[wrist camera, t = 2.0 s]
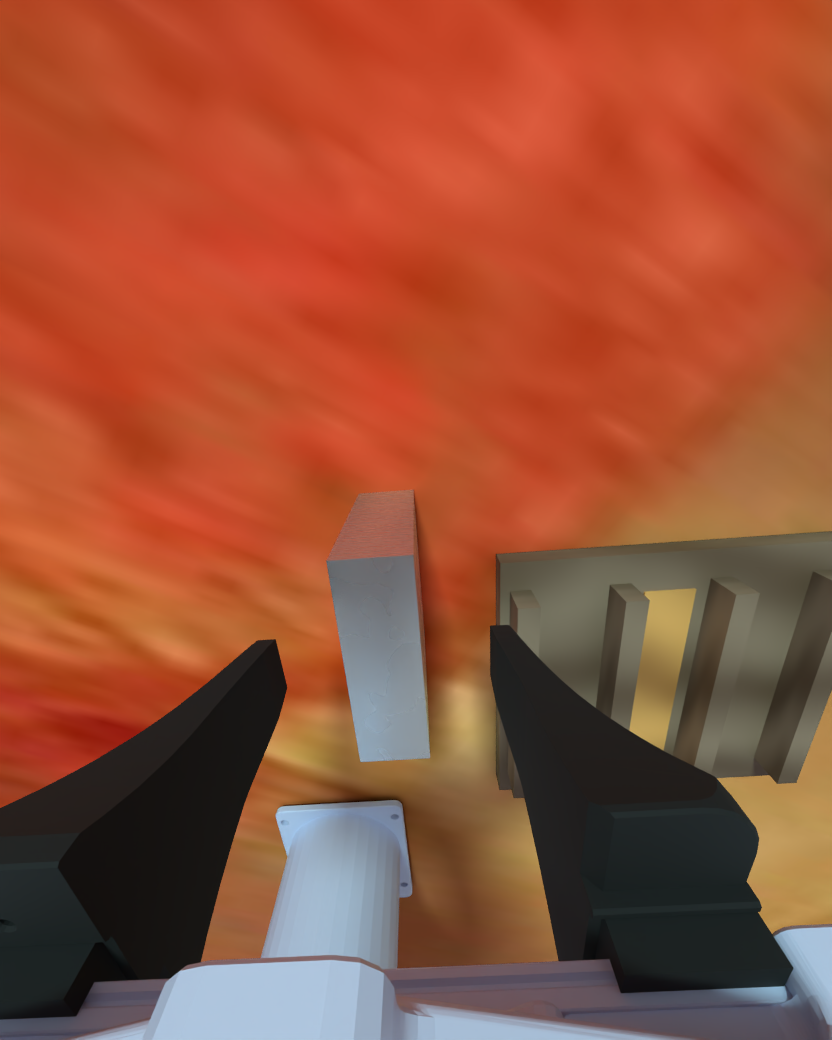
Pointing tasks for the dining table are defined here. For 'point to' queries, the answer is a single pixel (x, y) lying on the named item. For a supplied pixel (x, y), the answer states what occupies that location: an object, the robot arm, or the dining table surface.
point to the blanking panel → (382, 625)
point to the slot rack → (684, 643)
